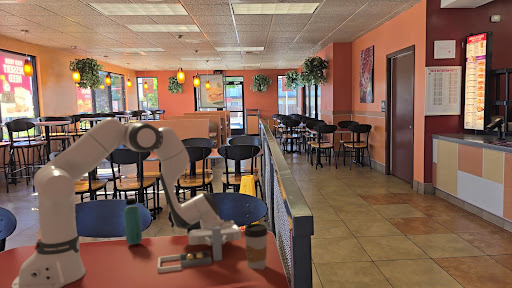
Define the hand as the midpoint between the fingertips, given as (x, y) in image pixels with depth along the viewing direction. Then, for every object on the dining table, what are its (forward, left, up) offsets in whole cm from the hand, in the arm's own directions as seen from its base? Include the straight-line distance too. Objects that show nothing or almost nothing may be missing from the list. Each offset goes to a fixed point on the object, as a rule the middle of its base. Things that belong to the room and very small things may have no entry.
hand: (216, 242), depth 143 cm
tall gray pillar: (0, +1, -8) cm, 8 cm away
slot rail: (-8, +1, -8) cm, 11 cm away
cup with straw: (-64, +24, -8) cm, 69 cm away
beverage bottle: (-32, +27, -8) cm, 43 cm away
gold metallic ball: (-10, +1, -7) cm, 12 cm away
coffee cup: (+13, -8, -8) cm, 17 cm away
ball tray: (-17, 0, -8) cm, 19 cm away
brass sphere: (-6, +1, -7) cm, 9 cm away
